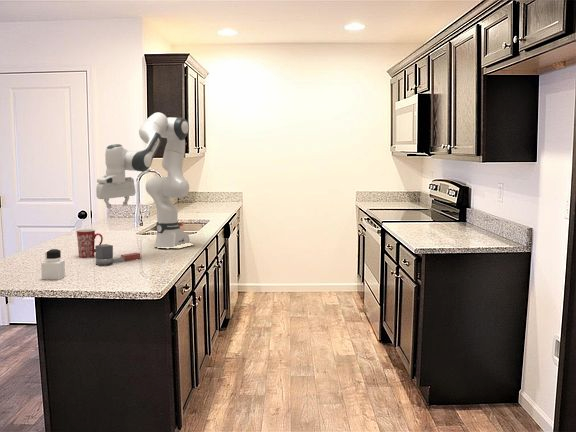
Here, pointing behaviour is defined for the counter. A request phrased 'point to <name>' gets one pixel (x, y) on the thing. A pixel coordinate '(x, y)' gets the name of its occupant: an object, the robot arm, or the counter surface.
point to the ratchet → (118, 259)
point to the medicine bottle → (53, 265)
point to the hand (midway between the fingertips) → (117, 206)
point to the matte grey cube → (104, 251)
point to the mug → (87, 242)
